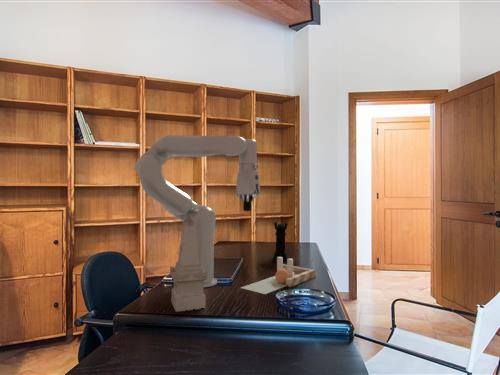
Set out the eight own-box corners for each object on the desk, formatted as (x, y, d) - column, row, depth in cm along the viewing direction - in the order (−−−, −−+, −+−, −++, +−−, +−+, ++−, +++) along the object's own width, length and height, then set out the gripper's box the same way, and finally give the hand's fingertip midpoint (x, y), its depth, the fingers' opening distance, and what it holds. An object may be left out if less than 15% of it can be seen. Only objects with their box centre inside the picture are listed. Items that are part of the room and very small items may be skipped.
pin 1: (278, 279, 151) (278, 258, 151) (276, 277, 153) (276, 257, 153) (283, 278, 152) (283, 257, 151) (281, 277, 154) (281, 256, 154)
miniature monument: (169, 301, 120) (170, 214, 120) (199, 298, 124) (200, 213, 124) (174, 312, 111) (175, 217, 110) (207, 308, 114) (208, 216, 114)
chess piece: (287, 258, 194) (288, 222, 194) (287, 261, 186) (288, 223, 186) (273, 257, 195) (273, 221, 195) (272, 260, 187) (273, 223, 187)
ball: (285, 287, 146) (275, 286, 142) (280, 274, 149) (270, 273, 146) (295, 278, 143) (285, 277, 139) (289, 266, 147) (279, 265, 143)
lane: (265, 294, 130) (265, 294, 130) (240, 288, 137) (240, 287, 137) (310, 276, 156) (310, 275, 156) (287, 271, 164) (287, 271, 164)
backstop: (290, 287, 139) (290, 279, 139) (254, 279, 151) (254, 272, 151) (315, 276, 156) (315, 270, 156) (281, 270, 167) (281, 263, 167)
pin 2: (288, 281, 148) (288, 259, 148) (286, 279, 150) (286, 258, 150) (293, 281, 148) (293, 259, 148) (291, 279, 151) (291, 258, 151)
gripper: (266, 168, 150) (266, 211, 150) (240, 168, 159) (239, 209, 159) (256, 167, 144) (255, 212, 144) (229, 168, 153) (228, 210, 154)
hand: (247, 210), depth 152 cm, fingers closed
